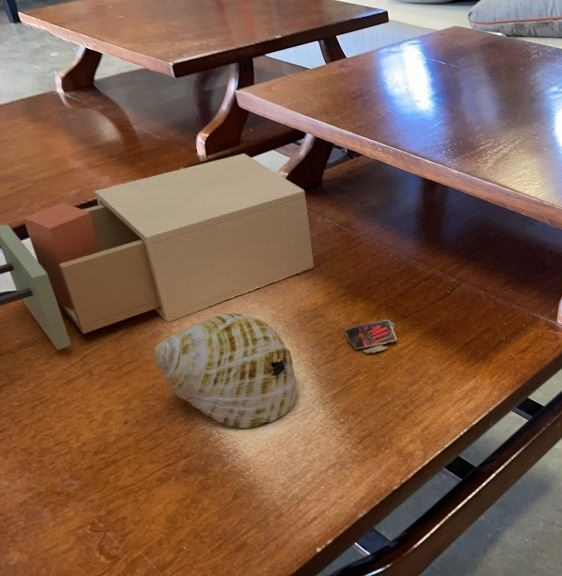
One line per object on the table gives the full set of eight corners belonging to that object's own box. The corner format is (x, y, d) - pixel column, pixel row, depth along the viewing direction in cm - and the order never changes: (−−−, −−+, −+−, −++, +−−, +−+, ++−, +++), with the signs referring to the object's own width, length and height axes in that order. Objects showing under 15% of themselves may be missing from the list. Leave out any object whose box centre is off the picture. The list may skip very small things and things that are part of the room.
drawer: (4, 369, 67) (-26, 294, 63) (-31, 311, 74) (-60, 241, 70) (219, 292, 79) (205, 225, 75) (170, 248, 86) (155, 185, 82)
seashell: (321, 403, 64) (250, 332, 58) (224, 468, 64) (140, 404, 57) (296, 335, 72) (231, 265, 65) (208, 392, 71) (133, 328, 64)
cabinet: (167, 322, 75) (145, 237, 70) (116, 270, 83) (94, 190, 78) (314, 268, 85) (304, 190, 80) (256, 226, 93) (244, 153, 88)
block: (76, 311, 73) (49, 228, 68) (50, 299, 74) (22, 217, 70) (113, 293, 76) (89, 212, 71) (87, 282, 77) (63, 202, 73)
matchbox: (340, 334, 74) (340, 330, 74) (387, 318, 77) (387, 314, 77) (361, 358, 71) (361, 354, 71) (410, 341, 74) (409, 336, 73)
